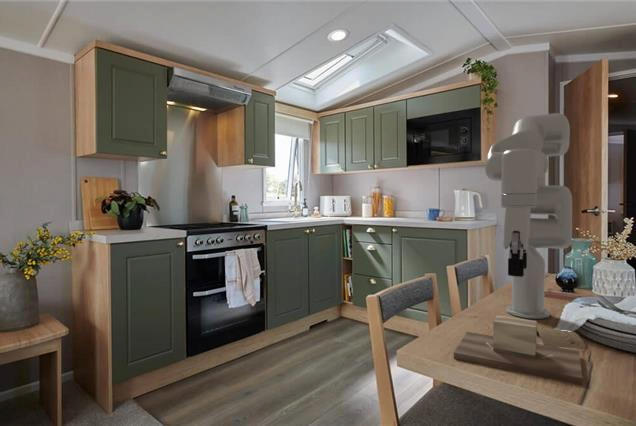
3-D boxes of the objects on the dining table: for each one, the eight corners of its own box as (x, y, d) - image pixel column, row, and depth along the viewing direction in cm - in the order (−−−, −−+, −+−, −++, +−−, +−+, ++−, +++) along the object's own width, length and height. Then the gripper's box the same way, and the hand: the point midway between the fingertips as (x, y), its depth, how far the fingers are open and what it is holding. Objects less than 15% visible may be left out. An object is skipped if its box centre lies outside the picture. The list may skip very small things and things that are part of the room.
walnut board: (466, 337, 108) (466, 331, 108) (578, 356, 94) (578, 350, 94) (453, 358, 95) (453, 352, 95) (582, 385, 81) (582, 378, 81)
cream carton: (496, 344, 99) (496, 315, 99) (536, 351, 94) (536, 321, 94) (493, 351, 95) (493, 320, 95) (535, 359, 90) (535, 327, 90)
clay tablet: (526, 330, 114) (526, 321, 114) (564, 332, 113) (564, 323, 112) (545, 350, 100) (545, 340, 100) (589, 352, 98) (589, 342, 98)
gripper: (505, 199, 102) (504, 264, 103) (496, 202, 87) (495, 277, 88) (538, 199, 98) (537, 266, 99) (534, 203, 83) (533, 281, 84)
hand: (517, 271), depth 94 cm, fingers open, 9 cm apart
